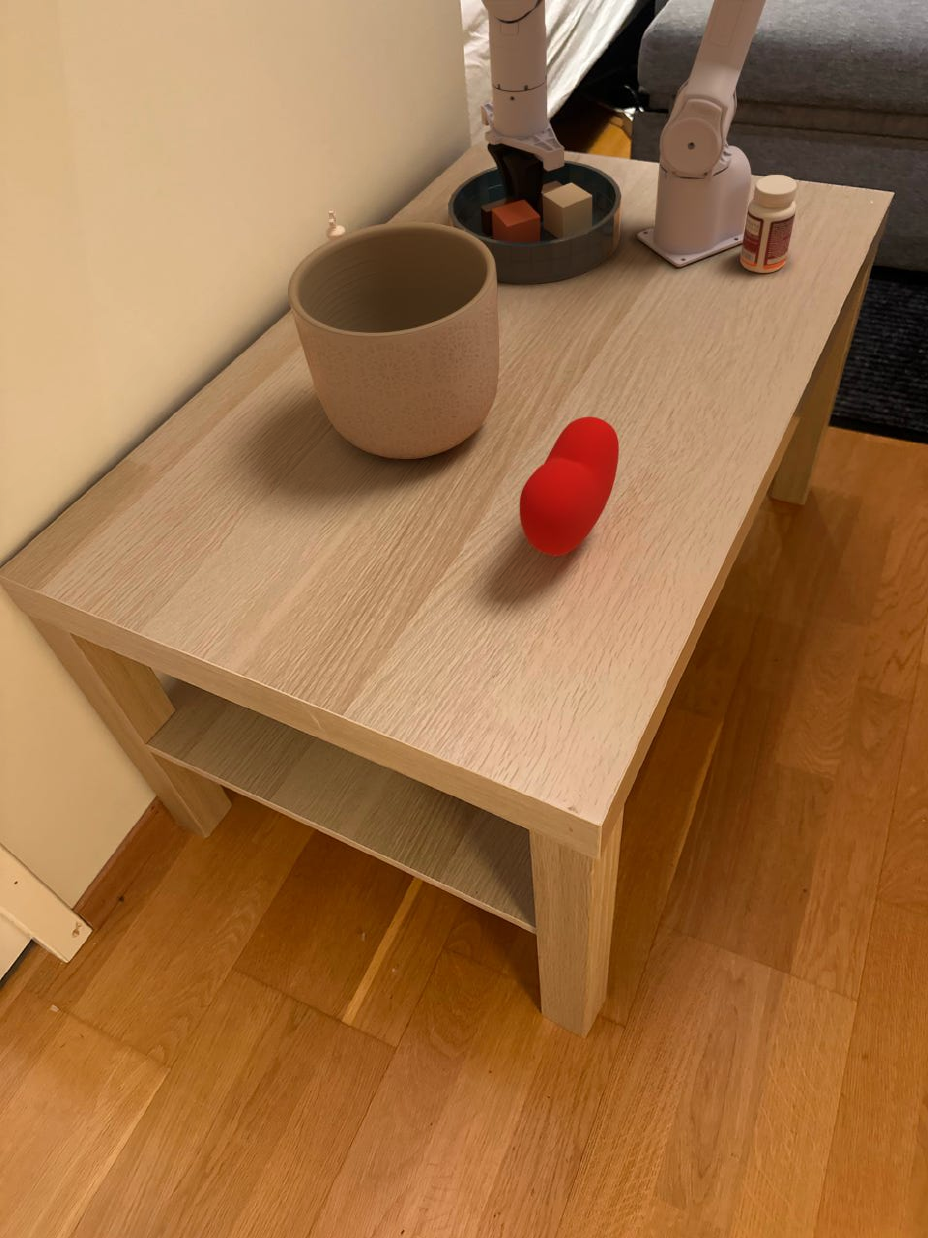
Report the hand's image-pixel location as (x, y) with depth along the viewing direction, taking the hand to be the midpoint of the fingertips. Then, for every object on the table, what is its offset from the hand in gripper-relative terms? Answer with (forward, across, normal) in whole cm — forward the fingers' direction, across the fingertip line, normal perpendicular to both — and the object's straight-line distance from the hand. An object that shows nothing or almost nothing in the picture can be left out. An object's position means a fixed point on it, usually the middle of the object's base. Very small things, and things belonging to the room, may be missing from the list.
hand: (523, 209), depth 102 cm
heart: (+3, +45, -22) cm, 50 cm away
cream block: (+2, +4, +4) cm, 6 cm away
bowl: (+2, +2, 0) cm, 3 cm away
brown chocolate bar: (+1, 0, 0) cm, 1 cm away
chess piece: (+3, +1, -23) cm, 23 cm away
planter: (+3, +24, -26) cm, 36 cm away
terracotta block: (+2, +4, -3) cm, 5 cm away
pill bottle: (+2, +21, +17) cm, 27 cm away
